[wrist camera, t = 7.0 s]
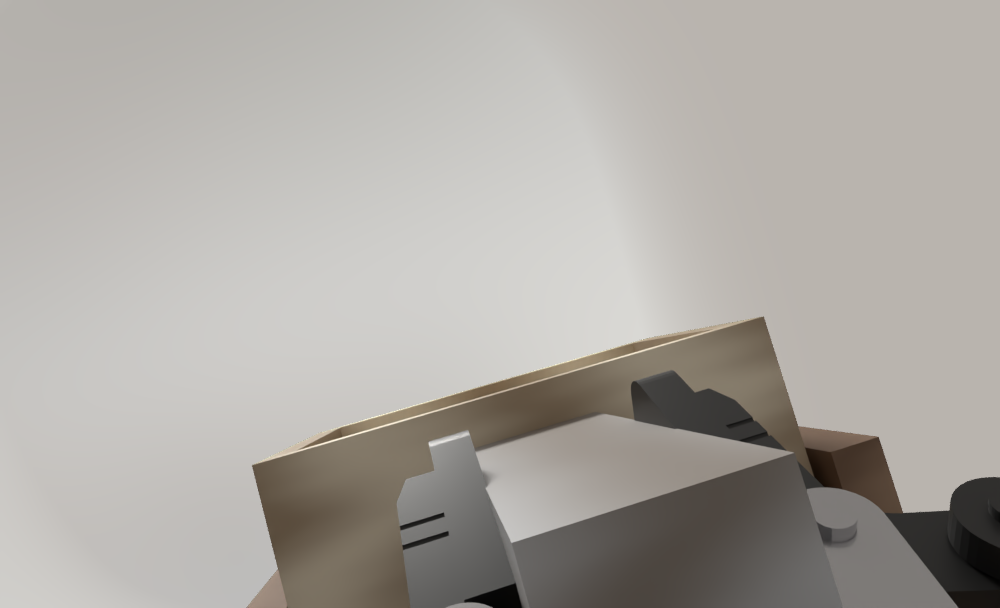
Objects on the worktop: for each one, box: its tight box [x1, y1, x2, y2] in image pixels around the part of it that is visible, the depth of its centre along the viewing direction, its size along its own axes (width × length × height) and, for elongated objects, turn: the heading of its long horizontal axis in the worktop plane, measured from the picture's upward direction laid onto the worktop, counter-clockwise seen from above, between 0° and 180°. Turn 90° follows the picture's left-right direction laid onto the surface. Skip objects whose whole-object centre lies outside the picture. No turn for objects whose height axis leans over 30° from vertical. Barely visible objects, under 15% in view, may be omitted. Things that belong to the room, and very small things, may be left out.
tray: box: [252, 317, 843, 608], centre depth 15 cm, size 12×18×5 cm
